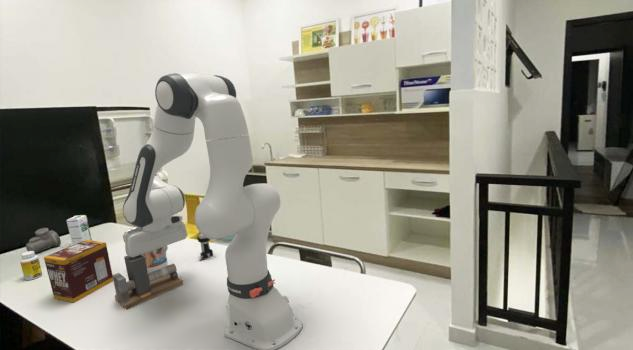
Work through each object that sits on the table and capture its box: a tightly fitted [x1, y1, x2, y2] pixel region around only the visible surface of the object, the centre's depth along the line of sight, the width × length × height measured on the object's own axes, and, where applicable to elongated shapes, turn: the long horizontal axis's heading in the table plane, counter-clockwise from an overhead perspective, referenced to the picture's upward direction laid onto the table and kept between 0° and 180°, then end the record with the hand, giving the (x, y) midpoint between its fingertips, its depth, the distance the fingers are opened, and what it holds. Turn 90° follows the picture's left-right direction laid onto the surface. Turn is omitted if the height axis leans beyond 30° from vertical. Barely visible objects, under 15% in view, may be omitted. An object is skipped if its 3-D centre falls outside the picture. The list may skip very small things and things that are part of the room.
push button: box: [196, 233, 214, 261], centre depth 144 cm, size 7×5×10 cm
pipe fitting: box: [25, 227, 62, 255], centre depth 164 cm, size 12×8×10 cm, turn 151°
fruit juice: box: [133, 225, 168, 273], centre depth 136 cm, size 9×9×28 cm
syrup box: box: [66, 214, 93, 245], centre depth 165 cm, size 6×6×14 cm
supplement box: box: [43, 240, 114, 303], centre depth 124 cm, size 10×15×16 cm
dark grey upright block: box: [123, 255, 151, 296], centre depth 117 cm, size 7×4×12 cm, turn 48°
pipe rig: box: [112, 263, 184, 311], centre depth 120 cm, size 10×19×10 cm, turn 138°
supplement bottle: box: [19, 251, 43, 281], centre depth 136 cm, size 6×6×10 cm
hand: (160, 259), depth 122 cm, fingers closed
